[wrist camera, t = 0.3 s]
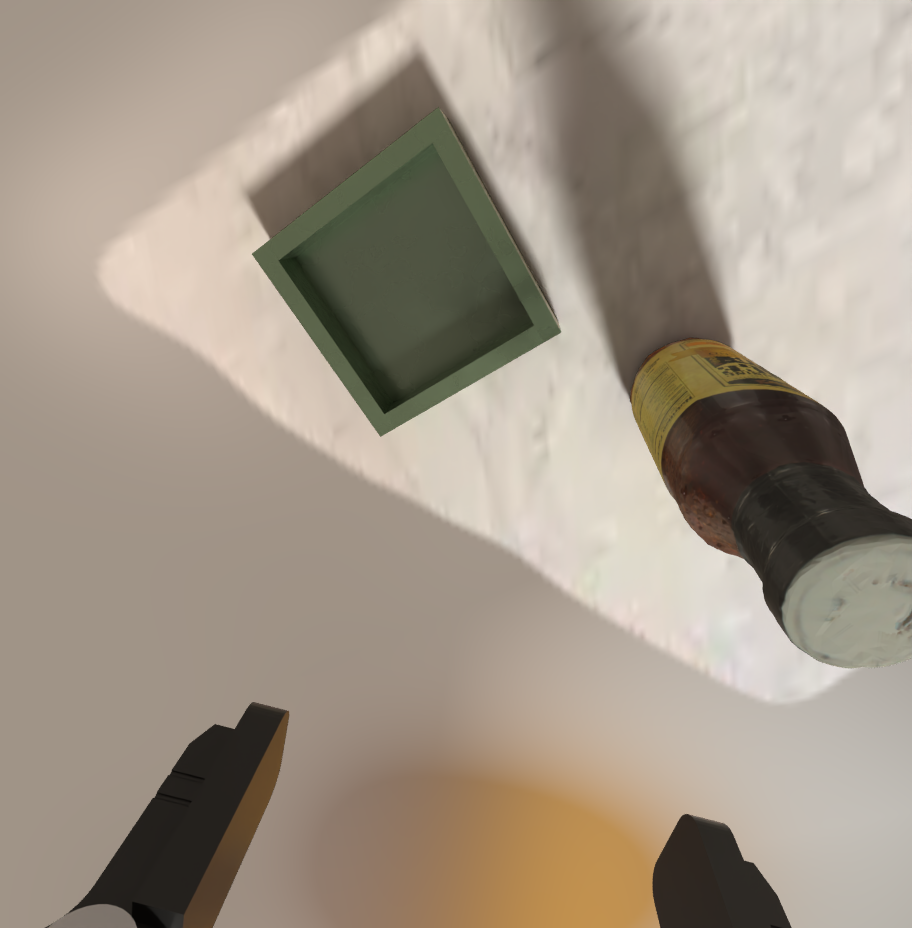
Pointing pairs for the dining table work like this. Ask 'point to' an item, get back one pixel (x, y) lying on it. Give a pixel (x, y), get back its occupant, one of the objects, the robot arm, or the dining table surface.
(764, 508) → the sauce bottle
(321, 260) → the green square tray
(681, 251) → the dining table surface
